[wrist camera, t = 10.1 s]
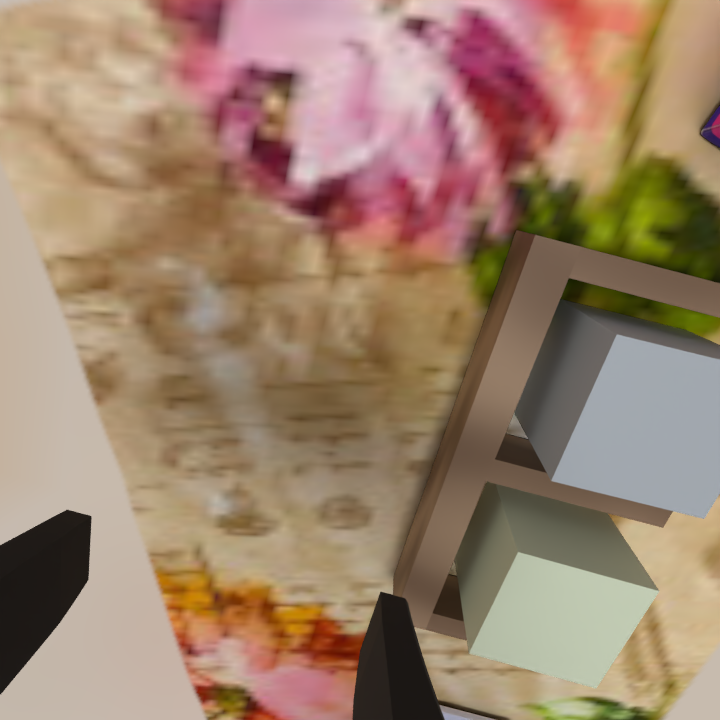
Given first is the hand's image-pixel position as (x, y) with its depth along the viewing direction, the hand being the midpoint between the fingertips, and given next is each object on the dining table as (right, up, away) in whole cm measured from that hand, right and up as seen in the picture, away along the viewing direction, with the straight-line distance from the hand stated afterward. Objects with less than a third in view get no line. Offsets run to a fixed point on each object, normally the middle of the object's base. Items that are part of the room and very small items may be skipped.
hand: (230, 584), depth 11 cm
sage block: (+11, -2, +10) cm, 15 cm away
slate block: (+13, +5, +7) cm, 15 cm away
